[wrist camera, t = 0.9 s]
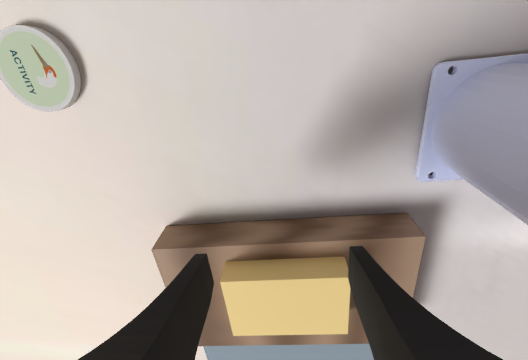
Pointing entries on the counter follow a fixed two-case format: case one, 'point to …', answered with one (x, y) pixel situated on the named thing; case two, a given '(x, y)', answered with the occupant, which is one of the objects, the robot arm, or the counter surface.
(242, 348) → the mat
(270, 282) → the yellow flat block
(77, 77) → the pale green spoon
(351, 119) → the counter surface
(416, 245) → the brown wooden board
